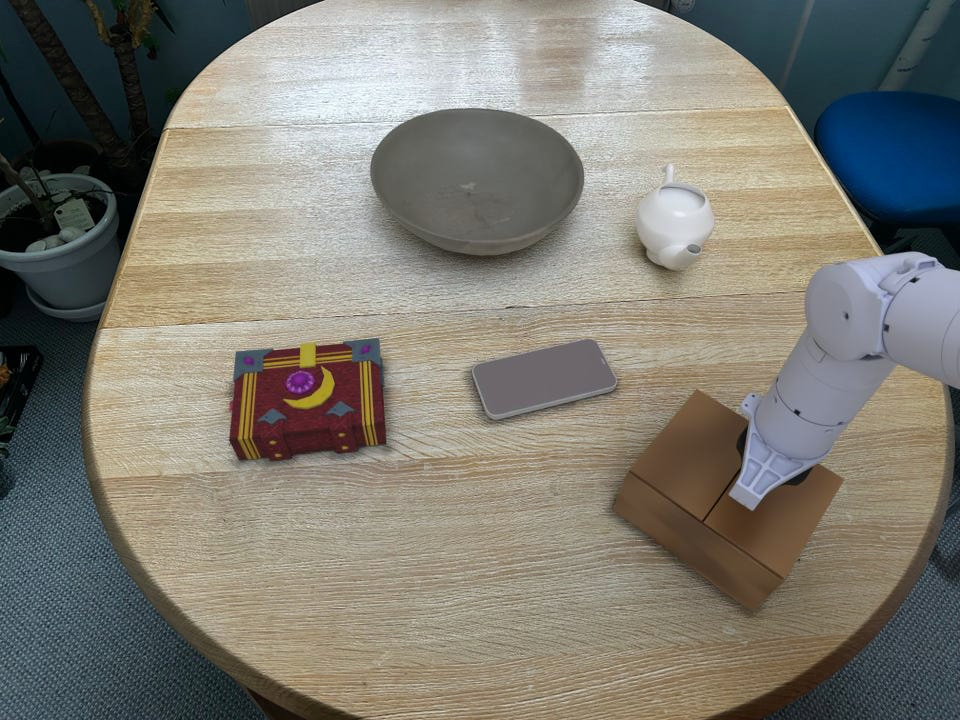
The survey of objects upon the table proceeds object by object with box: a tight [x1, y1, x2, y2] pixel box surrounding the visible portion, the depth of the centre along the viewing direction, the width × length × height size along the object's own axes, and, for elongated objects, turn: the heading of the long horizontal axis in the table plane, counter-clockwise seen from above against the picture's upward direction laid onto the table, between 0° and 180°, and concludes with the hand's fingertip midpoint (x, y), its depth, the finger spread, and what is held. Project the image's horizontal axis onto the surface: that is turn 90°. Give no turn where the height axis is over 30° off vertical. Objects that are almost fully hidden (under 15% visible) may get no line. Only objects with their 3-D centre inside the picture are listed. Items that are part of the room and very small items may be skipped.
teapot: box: [634, 162, 716, 271], centre depth 85 cm, size 10×20×9 cm, turn 178°
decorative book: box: [228, 337, 387, 462], centre depth 70 cm, size 11×16×5 cm
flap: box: [704, 462, 846, 580], centre depth 57 cm, size 7×12×1 cm, turn 139°
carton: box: [612, 388, 786, 613], centre depth 62 cm, size 15×12×8 cm
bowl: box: [369, 107, 585, 257], centre depth 89 cm, size 27×28×8 cm
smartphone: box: [471, 337, 618, 421], centre depth 74 cm, size 7×1×15 cm
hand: (752, 484), depth 58 cm, fingers closed, pressing on flap
